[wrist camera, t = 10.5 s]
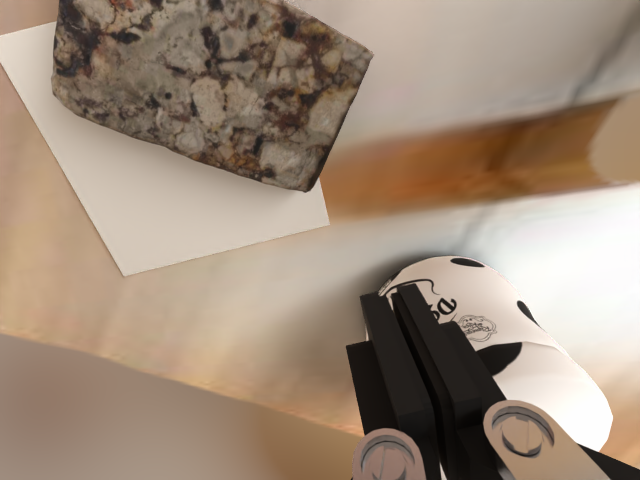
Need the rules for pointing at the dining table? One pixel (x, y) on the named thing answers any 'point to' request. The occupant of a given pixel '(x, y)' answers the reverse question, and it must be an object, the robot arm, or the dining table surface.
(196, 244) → the mat
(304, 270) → the dining table surface
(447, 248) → the dining table surface
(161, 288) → the dining table surface
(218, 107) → the stone block
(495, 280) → the milk container
